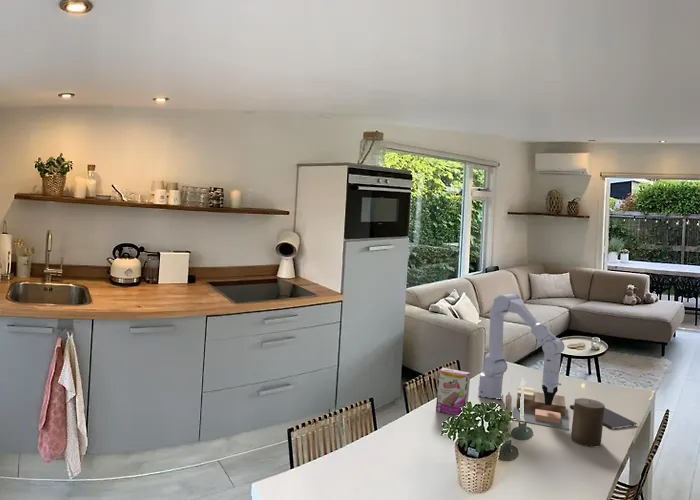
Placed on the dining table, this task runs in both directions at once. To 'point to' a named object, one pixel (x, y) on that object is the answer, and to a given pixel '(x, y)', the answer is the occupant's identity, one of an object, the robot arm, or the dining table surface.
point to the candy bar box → (452, 390)
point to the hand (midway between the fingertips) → (548, 404)
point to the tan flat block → (539, 403)
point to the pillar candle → (587, 422)
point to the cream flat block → (526, 393)
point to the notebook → (614, 419)
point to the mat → (530, 418)
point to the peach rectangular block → (547, 416)
